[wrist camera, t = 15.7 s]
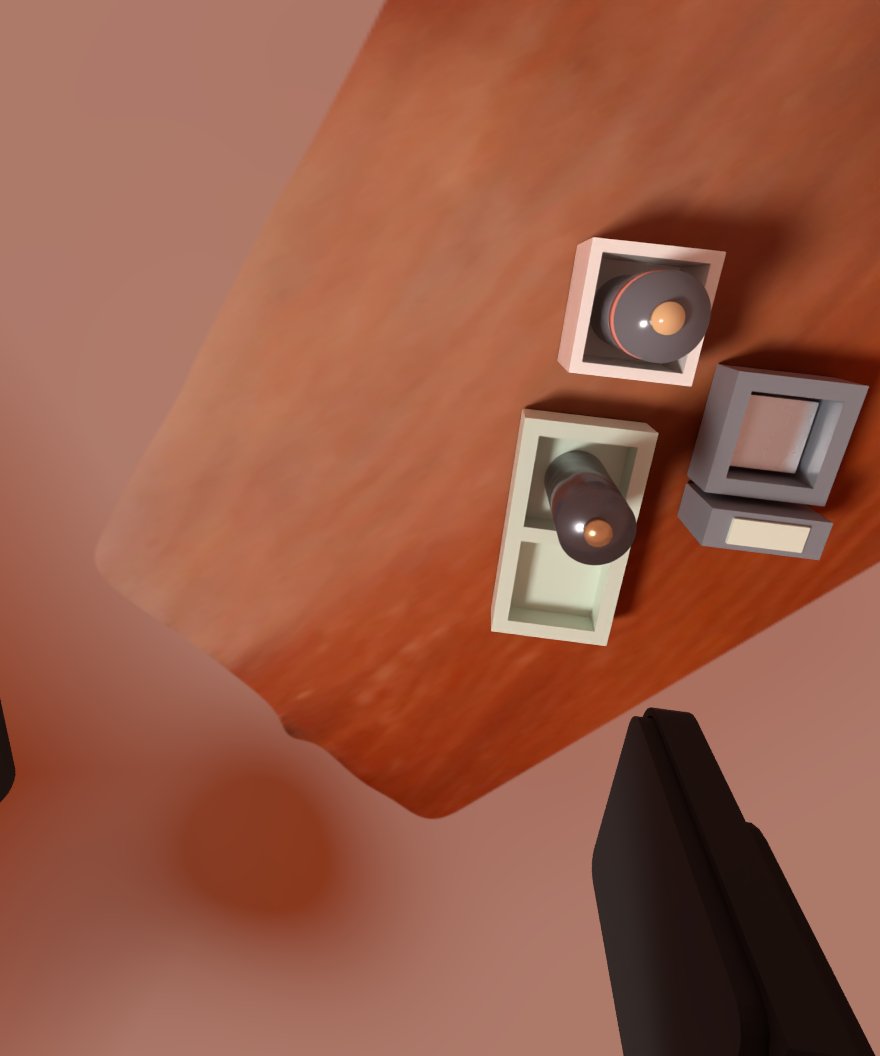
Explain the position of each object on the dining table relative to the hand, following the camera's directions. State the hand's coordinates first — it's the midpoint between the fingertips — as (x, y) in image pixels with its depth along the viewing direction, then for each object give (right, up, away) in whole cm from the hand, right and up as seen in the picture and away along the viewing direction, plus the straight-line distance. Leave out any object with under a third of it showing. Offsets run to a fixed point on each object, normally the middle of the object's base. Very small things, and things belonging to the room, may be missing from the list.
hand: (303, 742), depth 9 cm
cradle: (+22, +8, +30) cm, 38 cm away
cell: (+11, +6, +30) cm, 33 cm away
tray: (+10, +3, +33) cm, 34 cm away
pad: (+22, +10, +30) cm, 39 cm away
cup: (+13, +16, +27) cm, 34 cm away
